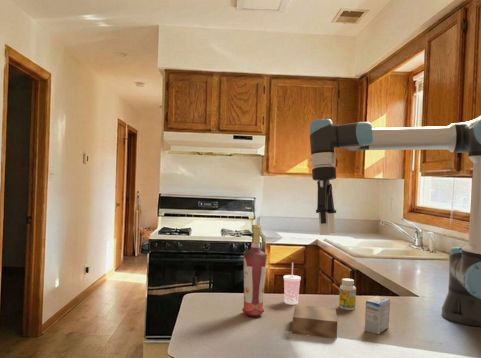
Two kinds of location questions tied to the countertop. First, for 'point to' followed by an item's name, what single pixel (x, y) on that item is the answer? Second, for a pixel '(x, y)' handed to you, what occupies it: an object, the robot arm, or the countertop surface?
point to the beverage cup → (291, 288)
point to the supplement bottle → (347, 294)
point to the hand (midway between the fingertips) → (328, 234)
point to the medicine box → (377, 314)
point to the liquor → (254, 276)
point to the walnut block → (315, 321)
